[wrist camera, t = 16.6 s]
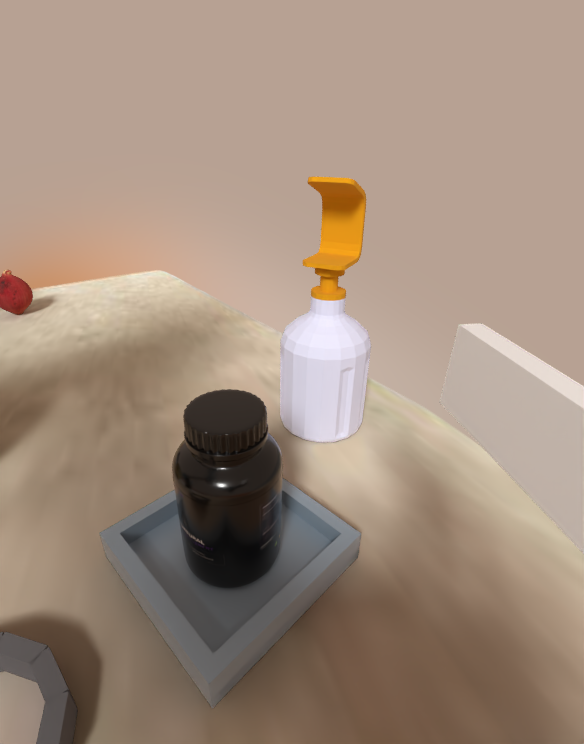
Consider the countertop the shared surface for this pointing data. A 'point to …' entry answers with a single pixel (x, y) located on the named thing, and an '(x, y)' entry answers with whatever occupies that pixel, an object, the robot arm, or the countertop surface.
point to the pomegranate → (14, 293)
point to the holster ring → (42, 685)
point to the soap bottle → (328, 329)
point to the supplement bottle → (228, 489)
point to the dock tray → (228, 605)
